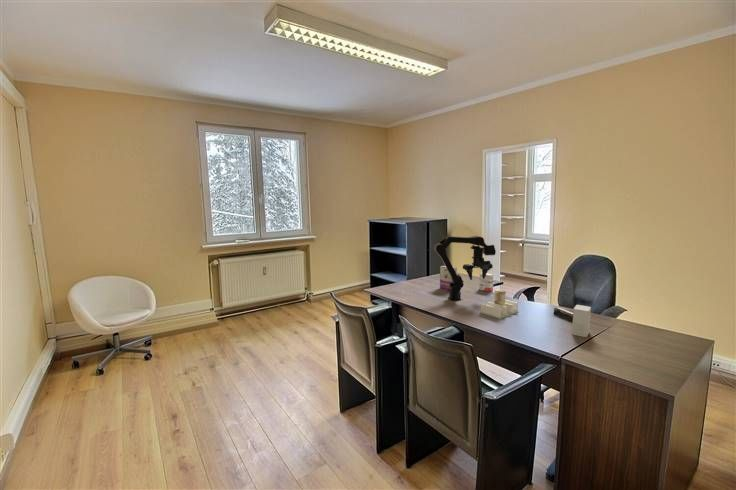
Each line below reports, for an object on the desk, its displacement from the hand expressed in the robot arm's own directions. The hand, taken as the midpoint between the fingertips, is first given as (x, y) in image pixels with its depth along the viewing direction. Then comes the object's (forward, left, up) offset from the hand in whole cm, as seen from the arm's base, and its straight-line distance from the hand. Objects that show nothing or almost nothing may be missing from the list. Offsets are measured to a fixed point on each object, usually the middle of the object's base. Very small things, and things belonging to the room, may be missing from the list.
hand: (477, 279), depth 226 cm
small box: (+15, -65, -13) cm, 68 cm away
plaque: (-3, -27, -12) cm, 30 cm away
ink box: (+18, +16, -13) cm, 28 cm away
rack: (-3, -27, -13) cm, 30 cm away
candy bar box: (-6, +27, -13) cm, 31 cm away
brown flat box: (+27, -44, -14) cm, 53 cm away
